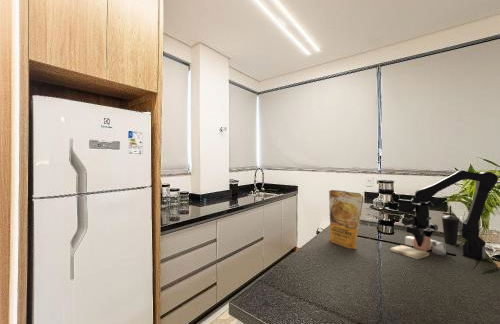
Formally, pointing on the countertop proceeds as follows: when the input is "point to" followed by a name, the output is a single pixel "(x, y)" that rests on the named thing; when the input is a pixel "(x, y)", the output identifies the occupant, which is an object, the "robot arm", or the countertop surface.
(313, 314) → the countertop surface
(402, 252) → the birch board
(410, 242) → the cream cube
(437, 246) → the grey cylinder
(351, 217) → the pancake mix bag
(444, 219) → the drinking cup
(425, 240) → the terracotta block
